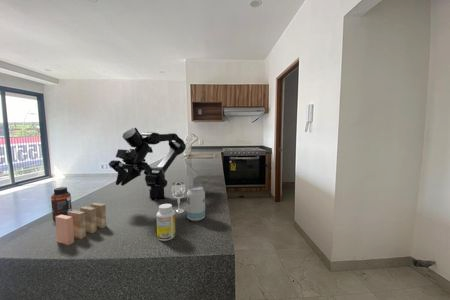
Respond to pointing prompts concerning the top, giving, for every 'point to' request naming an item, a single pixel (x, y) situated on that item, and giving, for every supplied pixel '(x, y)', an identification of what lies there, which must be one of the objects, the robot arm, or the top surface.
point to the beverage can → (196, 203)
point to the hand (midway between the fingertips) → (119, 184)
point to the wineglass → (178, 194)
